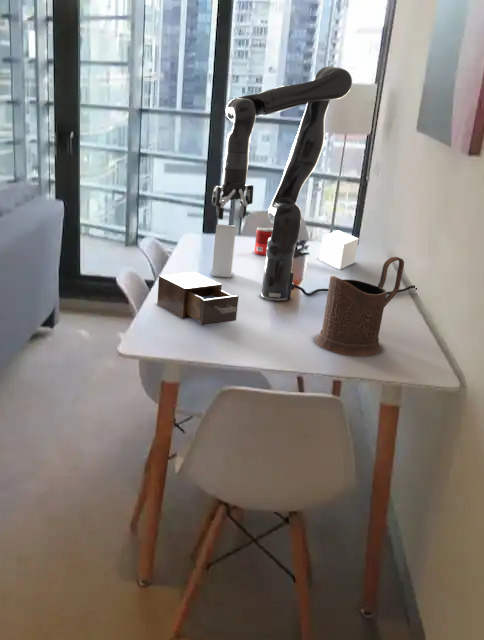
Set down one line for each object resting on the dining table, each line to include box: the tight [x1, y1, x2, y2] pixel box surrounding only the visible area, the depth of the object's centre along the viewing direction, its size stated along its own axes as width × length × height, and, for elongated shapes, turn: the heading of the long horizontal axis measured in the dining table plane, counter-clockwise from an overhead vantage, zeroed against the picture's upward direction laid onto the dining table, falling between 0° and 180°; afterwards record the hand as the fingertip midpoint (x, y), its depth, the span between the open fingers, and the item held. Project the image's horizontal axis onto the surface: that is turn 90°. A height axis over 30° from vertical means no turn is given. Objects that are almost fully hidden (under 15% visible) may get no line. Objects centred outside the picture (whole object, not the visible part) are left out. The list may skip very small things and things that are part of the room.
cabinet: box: [156, 271, 223, 320], centre depth 231 cm, size 16×14×10 cm
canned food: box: [254, 225, 273, 257], centre depth 307 cm, size 8×8×11 cm
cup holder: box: [315, 256, 405, 357], centre depth 205 cm, size 18×24×25 cm
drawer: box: [185, 288, 240, 327], centre depth 221 cm, size 19×13×8 cm, turn 28°
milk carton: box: [211, 223, 237, 278], centre depth 271 cm, size 7×7×19 cm
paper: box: [319, 229, 360, 270], centre depth 301 cm, size 14×29×10 cm, turn 170°
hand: (230, 218), depth 231 cm, fingers open, 8 cm apart
